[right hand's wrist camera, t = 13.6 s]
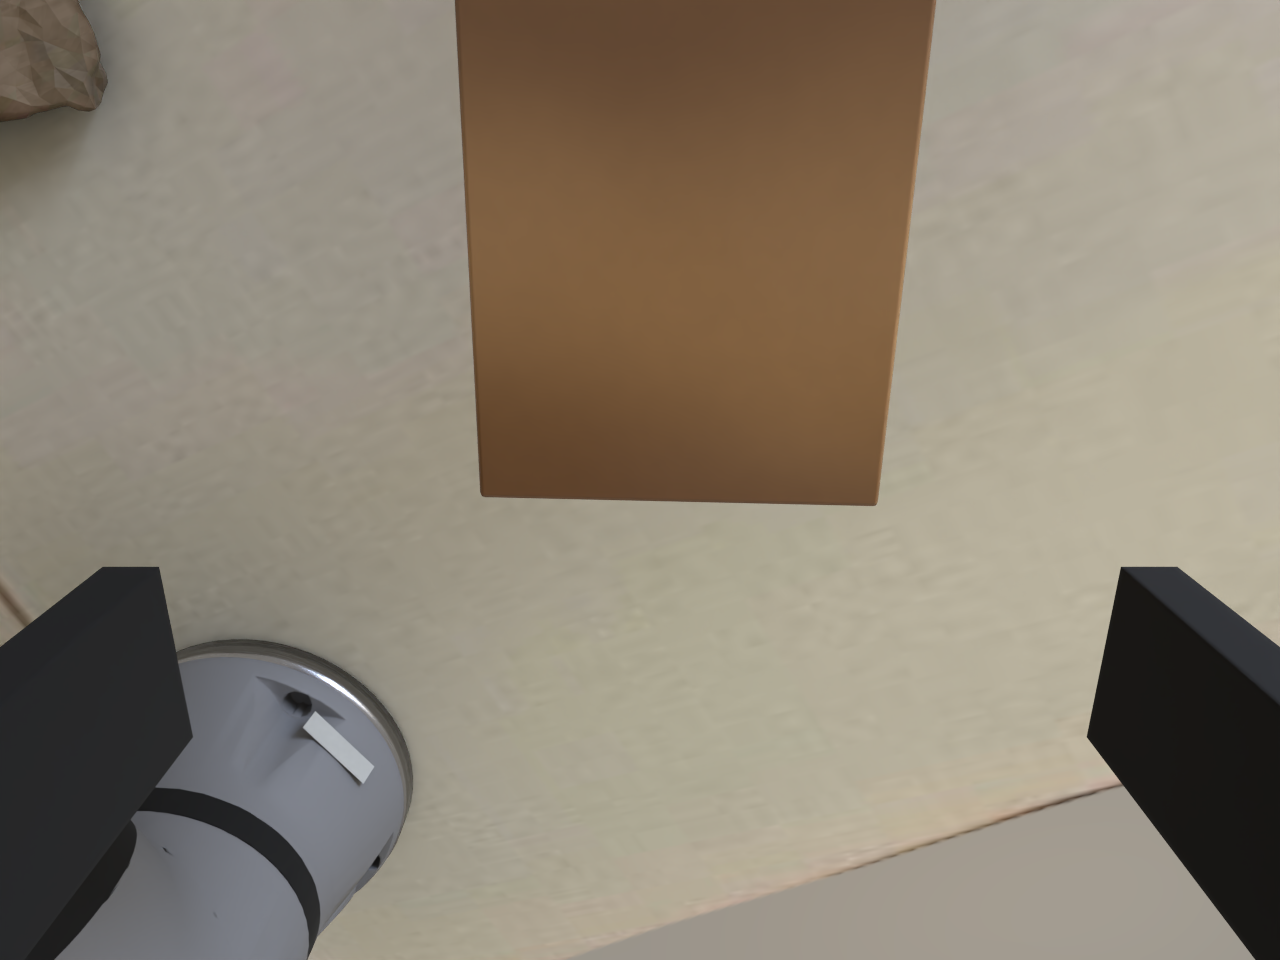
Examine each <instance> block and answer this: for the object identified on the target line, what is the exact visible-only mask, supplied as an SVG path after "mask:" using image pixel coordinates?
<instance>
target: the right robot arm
mask: <svg viewBox="0 0 1280 960" xmlns="http://www.w3.org/2000/svg"><path fill="white" fill-rule="evenodd" d="M1087 738H1088V739H1089V740H1090V742H1091V743H1092V744H1093V746H1094V747H1095V748H1096V750H1097V751H1098V752H1099V754H1100V755H1101V756H1102V758H1103V759H1104V760H1105V762H1106V763H1107V764H1108V766H1109V767H1110V768H1111V770H1112V771H1113V772H1114V774H1115V775H1116V776H1117V777H1118V779H1119V780H1120V781H1121V783H1122V784H1123V785H1124V787H1125V788H1126V789H1127V791H1128V792H1129V793H1130V795H1131V796H1132V797H1133V799H1134V800H1135V801H1136V802H1137V804H1138V805H1139V806H1140V808H1141V809H1142V810H1143V812H1144V813H1145V814H1146V816H1147V817H1148V818H1149V820H1150V821H1151V822H1152V824H1153V825H1154V826H1155V828H1156V829H1157V830H1158V832H1159V833H1160V834H1161V835H1162V837H1163V838H1164V840H1165V841H1166V842H1167V843H1168V845H1169V846H1170V847H1171V849H1172V850H1173V851H1174V853H1175V854H1176V855H1177V857H1178V858H1179V859H1180V861H1181V862H1182V863H1183V865H1184V866H1185V867H1186V869H1187V870H1188V871H1189V873H1190V874H1191V875H1192V876H1193V878H1194V879H1195V880H1196V882H1197V883H1198V884H1199V886H1200V887H1201V888H1202V890H1203V891H1204V892H1205V894H1206V895H1207V896H1208V898H1209V899H1210V900H1211V902H1212V903H1213V904H1214V906H1215V907H1216V908H1217V910H1218V911H1219V912H1220V914H1221V915H1222V916H1223V917H1224V919H1225V920H1226V921H1227V923H1228V924H1229V925H1230V927H1231V928H1232V929H1233V931H1234V932H1235V933H1236V935H1237V936H1238V937H1239V939H1240V940H1241V941H1242V943H1243V944H1244V945H1245V946H1246V948H1247V949H1248V950H1249V952H1250V953H1251V954H1252V956H1253V957H1254V958H1255V960H1280V647H1279V646H1278V645H1276V644H1275V643H1274V642H1273V641H1271V640H1270V639H1269V638H1267V637H1266V636H1265V635H1264V634H1262V633H1261V632H1260V631H1258V630H1257V629H1256V628H1255V627H1253V626H1252V625H1251V624H1250V623H1248V622H1247V621H1246V620H1244V619H1243V618H1242V617H1241V616H1239V615H1238V614H1237V613H1235V612H1234V611H1233V610H1232V609H1230V608H1229V607H1228V606H1227V605H1225V604H1224V603H1223V602H1221V601H1220V600H1219V599H1218V598H1216V597H1215V596H1214V595H1212V594H1211V593H1210V592H1209V591H1207V590H1206V589H1205V588H1204V587H1202V586H1201V585H1200V584H1198V583H1197V582H1196V581H1195V580H1193V579H1192V578H1191V577H1189V576H1188V575H1187V574H1186V573H1184V572H1183V571H1182V570H1180V569H1179V568H1178V567H1121V570H1120V575H1119V580H1118V585H1117V590H1116V595H1115V600H1114V605H1113V610H1112V615H1111V620H1110V624H1109V629H1108V634H1107V639H1106V644H1105V649H1104V654H1103V659H1102V664H1101V669H1100V674H1099V679H1098V684H1097V689H1096V694H1095V699H1094V704H1093V709H1092V714H1091V719H1090V724H1089V729H1088V734H1087ZM412 790H413V775H412V765H411V761H410V756H409V752H408V749H407V747H406V744H405V741H404V739H403V737H402V734H401V732H400V730H399V728H398V727H397V725H396V723H395V722H394V720H393V718H392V717H391V715H390V714H389V713H388V711H387V710H386V709H385V707H384V706H383V705H382V704H381V703H380V701H379V700H378V699H377V698H376V697H375V696H374V695H373V694H372V693H371V692H370V691H369V690H368V689H367V688H366V687H365V686H364V685H362V684H361V683H360V682H359V681H357V680H356V679H355V678H354V677H352V676H351V675H349V674H348V673H346V672H345V671H343V670H342V669H340V668H339V667H337V666H335V665H333V664H332V663H330V662H328V661H326V660H324V659H322V658H320V657H317V656H315V655H313V654H311V653H308V652H305V651H302V650H300V649H297V648H293V647H290V646H286V645H282V644H278V643H272V642H266V641H258V640H221V641H214V642H208V643H203V644H199V645H195V646H192V647H188V648H186V649H183V650H181V651H178V652H176V649H175V644H174V639H173V634H172V629H171V624H170V620H169V615H168V610H167V605H166V600H165V595H164V590H163V585H162V580H161V575H160V570H159V567H102V568H101V569H99V570H98V571H97V572H96V573H94V574H93V575H92V576H91V577H89V578H88V579H87V580H85V581H84V582H83V583H82V584H80V585H79V586H78V587H76V588H75V589H74V590H73V591H71V592H70V593H69V594H68V595H66V596H65V597H64V598H62V599H61V600H60V601H59V602H57V603H56V604H55V605H53V606H52V607H51V608H50V609H48V610H47V611H46V612H45V613H43V614H42V615H41V616H39V617H38V618H37V619H36V620H34V621H33V622H32V623H30V624H29V625H28V626H27V627H25V628H24V629H23V630H22V631H20V632H19V633H18V634H16V635H15V636H14V637H13V638H11V639H10V640H9V641H7V642H6V643H5V644H4V645H2V646H1V647H0V960H307V959H308V957H309V954H310V952H311V950H312V948H313V945H314V943H315V940H316V938H317V936H318V935H319V934H320V933H321V932H322V931H323V930H324V929H325V928H326V927H327V926H328V925H329V924H330V922H331V921H332V920H333V919H334V918H335V917H336V916H337V915H338V914H339V913H340V912H341V910H342V909H343V908H344V907H345V906H346V905H347V903H348V902H349V901H350V899H351V898H352V896H353V895H354V894H355V893H356V892H357V891H358V890H360V889H361V888H362V887H363V886H364V885H365V884H366V883H367V882H368V881H369V880H370V879H371V878H372V877H373V876H374V875H375V874H376V872H377V871H378V870H379V869H380V867H381V866H382V865H383V863H384V862H385V860H386V859H387V858H388V856H389V855H390V853H391V852H392V850H393V848H394V846H395V844H396V843H397V840H398V838H399V835H400V833H401V830H402V827H403V825H404V822H405V819H406V816H407V814H408V811H409V807H410V803H411V798H412Z"/></svg>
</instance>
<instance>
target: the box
mask: <svg viewBox="0 0 1280 960" xmlns="http://www.w3.org/2000/svg"><path fill="white" fill-rule="evenodd" d="M935 7H936V0H455V12H456V31H457V51H458V70H459V89H460V108H461V128H462V147H463V166H464V186H465V205H466V224H467V244H468V263H469V282H470V301H471V321H472V340H473V359H474V379H475V398H476V417H477V437H478V456H479V475H480V492H481V495H482V496H484V497H507V498H550V499H594V500H637V501H681V502H724V503H768V504H811V505H855V506H874V505H876V504H877V502H878V495H879V486H880V478H881V469H882V460H883V452H884V443H885V435H886V426H887V418H888V409H889V401H890V392H891V384H892V375H893V366H894V358H895V349H896V341H897V332H898V324H899V315H900V307H901V298H902V290H903V281H904V272H905V264H906V255H907V247H908V238H909V230H910V221H911V213H912V204H913V195H914V187H915V178H916V170H917V161H918V153H919V144H920V136H921V127H922V119H923V110H924V101H925V93H926V84H927V76H928V67H929V59H930V50H931V42H932V33H933V24H934V16H935Z"/></svg>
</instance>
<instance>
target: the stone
mask: <svg viewBox="0 0 1280 960" xmlns="http://www.w3.org/2000/svg"><path fill="white" fill-rule="evenodd" d="M107 83H108V82H107V76H106V72H105V71H104V69H103V67H102V66H101V64H100V51H99V48H98V45H97V42H96V38H95V35H94V32H93V30H92V28H91V25H90V23H89V21H88V20H87V18H86V16H85V15H84V13H83V12H82V10H81V7H80V5H79V3H78V0H0V122H3V121H9V120H16V119H23V118H27V117H29V116H31V115H33V114H35V113H38V112H43V111H48V110H52V109H56V108H59V107H63V106H70V107H72V108H74V109H77V110H82V111H92V110H94V109H96V108H97V107H98V105H99V104H100V103H101V100H102V95H103V92H104V90H105V87H106V85H107Z"/></svg>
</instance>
